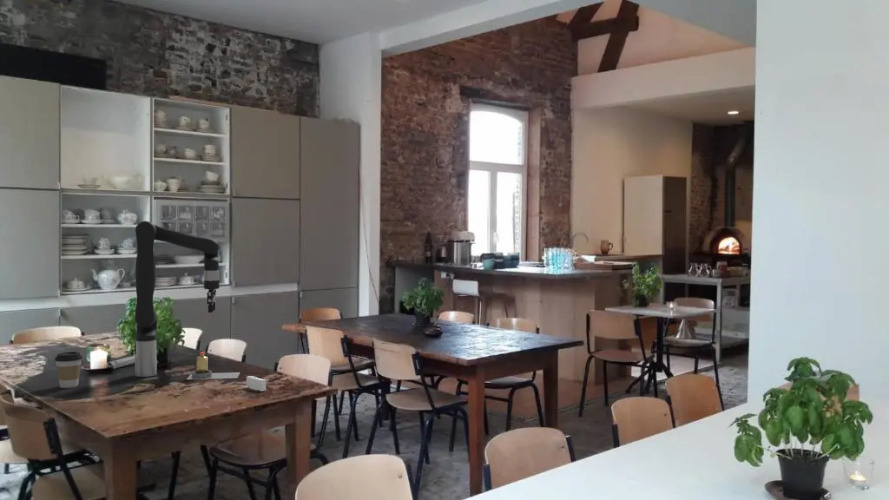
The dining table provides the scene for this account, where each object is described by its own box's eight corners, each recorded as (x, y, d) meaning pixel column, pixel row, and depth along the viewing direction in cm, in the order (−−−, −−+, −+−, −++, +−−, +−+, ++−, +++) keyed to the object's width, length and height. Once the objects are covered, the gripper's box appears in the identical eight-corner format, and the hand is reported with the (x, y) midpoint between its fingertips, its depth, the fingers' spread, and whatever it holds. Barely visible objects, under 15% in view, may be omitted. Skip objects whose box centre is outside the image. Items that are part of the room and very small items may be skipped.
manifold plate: (186, 382, 339) (186, 375, 339) (191, 376, 352) (191, 369, 351) (237, 381, 343) (237, 373, 343) (240, 375, 356) (240, 368, 355)
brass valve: (196, 376, 343) (196, 353, 343) (196, 375, 348) (197, 351, 348) (207, 376, 345) (207, 352, 345) (207, 374, 349) (208, 351, 349)
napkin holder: (270, 392, 322) (270, 379, 322) (244, 394, 319) (243, 381, 319) (268, 385, 337) (268, 373, 336) (243, 386, 333) (243, 374, 333)
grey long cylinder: (105, 361, 369) (149, 348, 390) (107, 374, 370) (150, 360, 391) (111, 362, 366) (155, 349, 387) (113, 375, 367) (156, 361, 388)
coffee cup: (88, 384, 333) (88, 352, 333) (68, 390, 323) (68, 356, 322) (69, 382, 337) (69, 350, 336) (48, 387, 326) (48, 354, 326)
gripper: (205, 278, 370) (206, 310, 371) (201, 280, 356) (201, 313, 357) (221, 278, 372) (221, 309, 372) (217, 280, 358) (217, 313, 358)
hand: (211, 311), depth 365 cm, fingers open, 8 cm apart
